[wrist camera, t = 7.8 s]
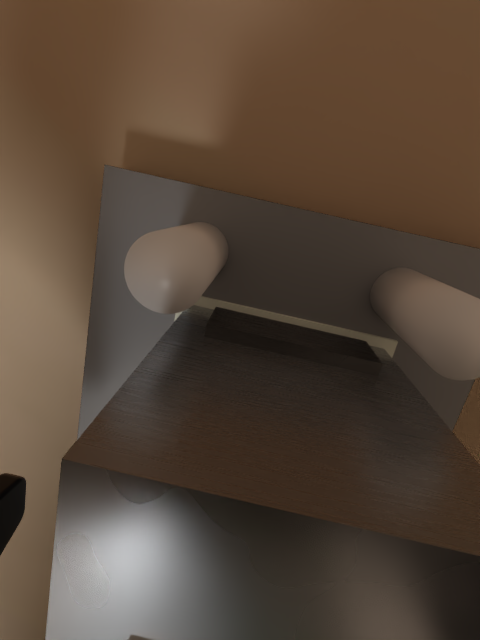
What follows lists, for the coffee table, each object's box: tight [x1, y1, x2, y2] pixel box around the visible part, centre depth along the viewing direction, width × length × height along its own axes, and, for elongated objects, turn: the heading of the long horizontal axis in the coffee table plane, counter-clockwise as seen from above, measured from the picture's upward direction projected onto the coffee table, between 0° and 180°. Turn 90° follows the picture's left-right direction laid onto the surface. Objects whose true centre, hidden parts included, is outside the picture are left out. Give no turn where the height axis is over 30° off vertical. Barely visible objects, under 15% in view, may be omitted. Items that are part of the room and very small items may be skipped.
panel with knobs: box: [77, 165, 480, 440], centre depth 9 cm, size 13×9×4 cm
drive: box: [45, 305, 480, 640], centre depth 7 cm, size 8×4×6 cm, turn 168°
